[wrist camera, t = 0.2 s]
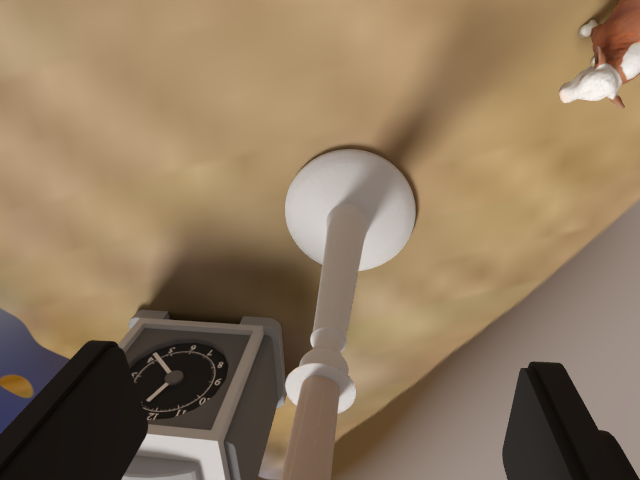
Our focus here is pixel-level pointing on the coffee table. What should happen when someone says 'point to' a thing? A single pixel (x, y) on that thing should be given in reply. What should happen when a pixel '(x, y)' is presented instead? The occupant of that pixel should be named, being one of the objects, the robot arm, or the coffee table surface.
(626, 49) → the bull figurine
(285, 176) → the coffee table surface
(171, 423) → the alarm clock
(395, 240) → the candlestick
